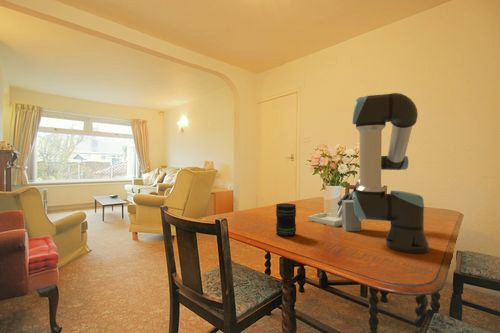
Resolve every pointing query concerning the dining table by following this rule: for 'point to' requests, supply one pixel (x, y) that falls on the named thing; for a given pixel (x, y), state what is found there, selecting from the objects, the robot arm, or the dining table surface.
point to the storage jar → (286, 220)
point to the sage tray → (326, 219)
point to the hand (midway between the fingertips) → (348, 218)
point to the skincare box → (349, 217)
